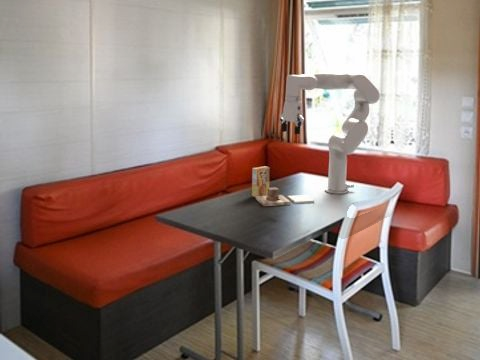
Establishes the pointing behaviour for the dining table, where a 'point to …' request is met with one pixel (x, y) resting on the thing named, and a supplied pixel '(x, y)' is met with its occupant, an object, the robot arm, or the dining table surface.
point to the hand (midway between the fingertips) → (290, 132)
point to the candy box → (260, 181)
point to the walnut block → (273, 194)
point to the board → (300, 199)
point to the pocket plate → (281, 201)
